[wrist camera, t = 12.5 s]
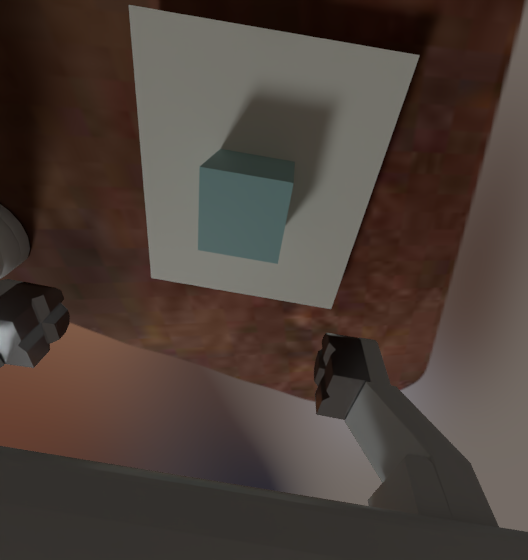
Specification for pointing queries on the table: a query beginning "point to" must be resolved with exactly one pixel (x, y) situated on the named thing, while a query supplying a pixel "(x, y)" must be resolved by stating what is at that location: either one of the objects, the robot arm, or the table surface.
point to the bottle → (11, 242)
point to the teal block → (244, 204)
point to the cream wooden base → (261, 142)
